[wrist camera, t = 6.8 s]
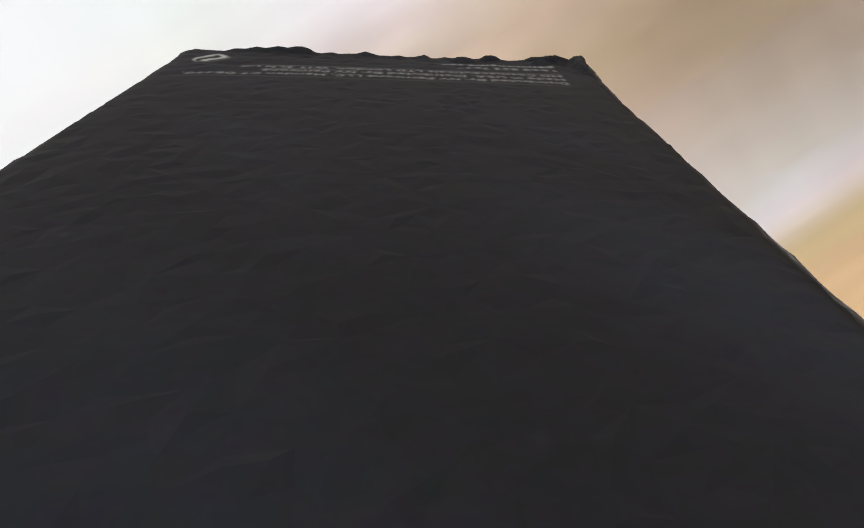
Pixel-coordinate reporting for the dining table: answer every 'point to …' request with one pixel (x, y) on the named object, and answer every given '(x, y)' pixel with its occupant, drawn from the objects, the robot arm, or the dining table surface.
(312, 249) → the small box
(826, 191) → the dining table surface
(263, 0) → the dining table surface
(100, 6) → the dining table surface
